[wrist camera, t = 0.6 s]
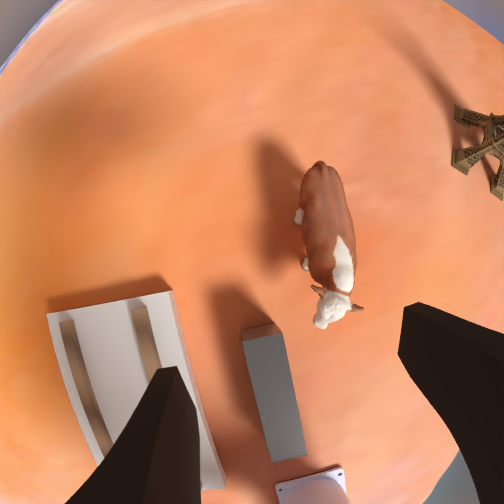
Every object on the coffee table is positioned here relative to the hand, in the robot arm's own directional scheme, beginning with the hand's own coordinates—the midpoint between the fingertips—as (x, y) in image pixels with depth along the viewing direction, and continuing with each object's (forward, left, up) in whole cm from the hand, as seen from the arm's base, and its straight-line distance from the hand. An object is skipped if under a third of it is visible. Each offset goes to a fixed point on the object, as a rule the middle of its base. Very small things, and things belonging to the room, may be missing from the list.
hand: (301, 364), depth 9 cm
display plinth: (-8, +15, -20) cm, 26 cm away
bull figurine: (+4, -6, -20) cm, 21 cm away
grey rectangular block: (-8, 0, -20) cm, 22 cm away
